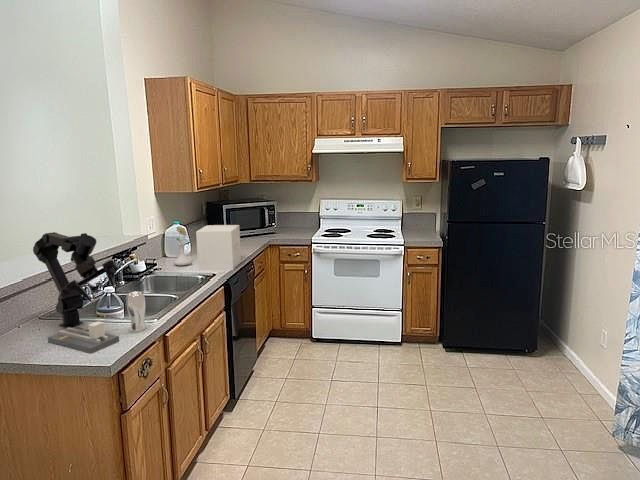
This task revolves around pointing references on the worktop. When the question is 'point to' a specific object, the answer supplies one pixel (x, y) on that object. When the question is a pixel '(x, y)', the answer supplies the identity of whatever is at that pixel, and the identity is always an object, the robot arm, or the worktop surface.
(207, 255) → the cube
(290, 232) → the worktop surface
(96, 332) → the fader knob
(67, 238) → the robot arm
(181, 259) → the flower in vase
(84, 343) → the fader console
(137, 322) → the beer glass
